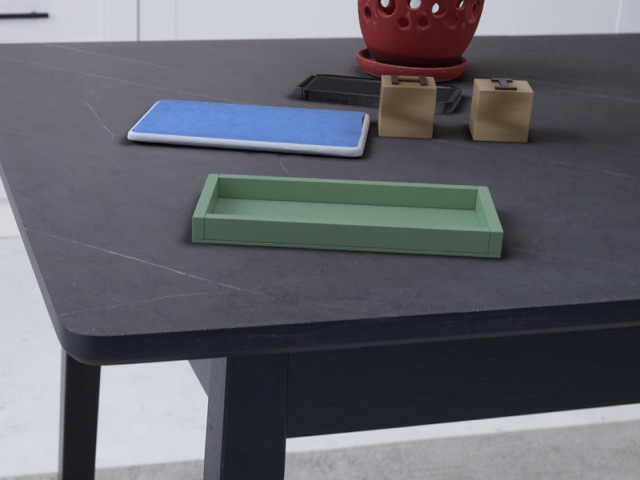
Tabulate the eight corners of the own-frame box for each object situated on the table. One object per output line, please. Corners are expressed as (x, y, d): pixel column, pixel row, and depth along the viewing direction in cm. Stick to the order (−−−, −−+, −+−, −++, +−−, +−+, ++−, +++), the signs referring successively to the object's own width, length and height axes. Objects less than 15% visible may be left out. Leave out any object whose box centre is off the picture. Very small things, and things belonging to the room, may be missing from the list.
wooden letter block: (519, 132, 102) (527, 78, 99) (526, 145, 98) (534, 89, 95) (468, 130, 102) (474, 76, 100) (473, 143, 98) (479, 87, 96)
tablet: (370, 124, 103) (371, 109, 102) (361, 163, 92) (362, 146, 91) (158, 112, 105) (157, 97, 105) (124, 148, 94) (124, 132, 94)
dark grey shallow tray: (314, 73, 116) (463, 85, 112) (313, 84, 116) (462, 97, 112) (292, 89, 109) (451, 103, 105) (292, 101, 110) (450, 115, 106)
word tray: (484, 213, 81) (487, 186, 80) (499, 262, 73) (504, 231, 72) (208, 200, 83) (208, 173, 82) (191, 246, 74) (191, 216, 73)
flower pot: (403, 95, 113) (414, -34, 108) (327, 69, 123) (334, -50, 118) (503, 82, 119) (519, -40, 114) (423, 59, 129) (434, -55, 124)
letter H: (428, 128, 102) (433, 74, 100) (431, 141, 98) (437, 85, 96) (377, 126, 102) (381, 72, 100) (378, 139, 98) (383, 83, 96)
